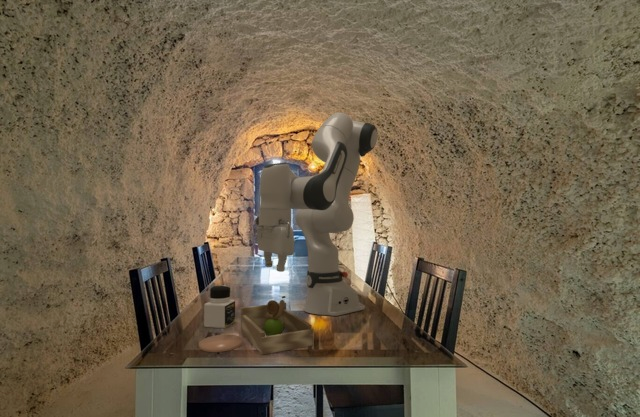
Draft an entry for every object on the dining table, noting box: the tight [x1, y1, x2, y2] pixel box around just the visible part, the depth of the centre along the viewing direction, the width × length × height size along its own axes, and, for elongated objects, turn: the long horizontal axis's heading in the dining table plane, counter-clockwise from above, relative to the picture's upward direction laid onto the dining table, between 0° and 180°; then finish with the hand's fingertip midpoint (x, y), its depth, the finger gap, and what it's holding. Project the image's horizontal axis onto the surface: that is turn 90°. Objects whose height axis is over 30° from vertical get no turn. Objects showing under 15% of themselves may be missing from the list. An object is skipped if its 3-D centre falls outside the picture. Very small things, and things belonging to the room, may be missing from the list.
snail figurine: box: [263, 295, 286, 336], centre depth 99 cm, size 5×6×12 cm
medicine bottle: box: [203, 284, 236, 329], centre depth 112 cm, size 7×7×12 cm
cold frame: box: [240, 302, 314, 356], centre depth 99 cm, size 14×20×7 cm
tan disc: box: [198, 334, 243, 353], centre depth 94 cm, size 11×11×1 cm
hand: (274, 269), depth 99 cm, fingers open, 8 cm apart
